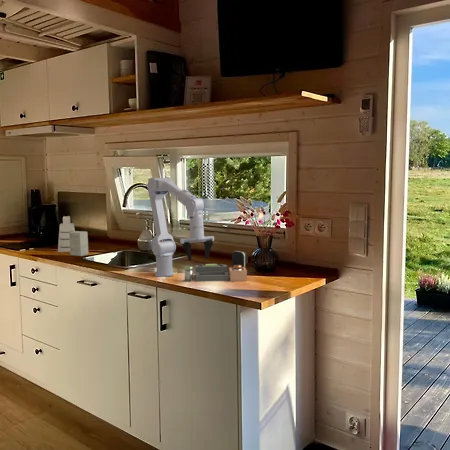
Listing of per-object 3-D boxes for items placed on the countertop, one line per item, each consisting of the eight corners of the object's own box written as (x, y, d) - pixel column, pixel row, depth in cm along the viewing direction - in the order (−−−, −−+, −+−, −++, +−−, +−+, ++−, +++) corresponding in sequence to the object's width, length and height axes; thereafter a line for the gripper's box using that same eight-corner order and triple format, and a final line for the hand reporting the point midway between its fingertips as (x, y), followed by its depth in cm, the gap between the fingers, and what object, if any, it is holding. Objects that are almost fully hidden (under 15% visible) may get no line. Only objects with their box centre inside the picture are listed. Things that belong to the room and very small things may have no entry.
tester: (195, 276, 221) (195, 263, 220) (226, 275, 222) (226, 263, 221) (196, 282, 208) (195, 269, 207) (229, 282, 209) (228, 269, 208)
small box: (88, 254, 278) (87, 231, 276) (80, 256, 272) (79, 232, 271) (77, 253, 281) (76, 230, 280) (69, 255, 276) (68, 232, 274)
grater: (57, 252, 285) (56, 217, 283) (59, 249, 296) (57, 216, 293) (76, 251, 288) (75, 217, 286) (77, 248, 298) (76, 215, 296)
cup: (228, 278, 215) (228, 267, 214) (244, 278, 216) (244, 267, 215) (230, 282, 208) (230, 271, 208) (246, 282, 209) (246, 270, 208)
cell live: (184, 279, 214) (184, 266, 213) (193, 279, 214) (192, 266, 213) (184, 281, 210) (184, 267, 210) (193, 281, 211) (193, 267, 210)
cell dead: (233, 278, 213) (233, 264, 213) (241, 278, 214) (241, 264, 213) (233, 280, 210) (233, 266, 209) (242, 280, 210) (242, 266, 209)
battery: (249, 276, 219) (249, 251, 218) (243, 278, 216) (243, 252, 215) (237, 274, 224) (237, 249, 222) (231, 275, 221) (231, 250, 220)
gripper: (182, 228, 199) (184, 262, 200) (216, 226, 204) (217, 258, 205) (177, 228, 206) (179, 260, 207) (210, 225, 211) (212, 256, 212)
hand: (198, 259), depth 206 cm, fingers open, 7 cm apart
